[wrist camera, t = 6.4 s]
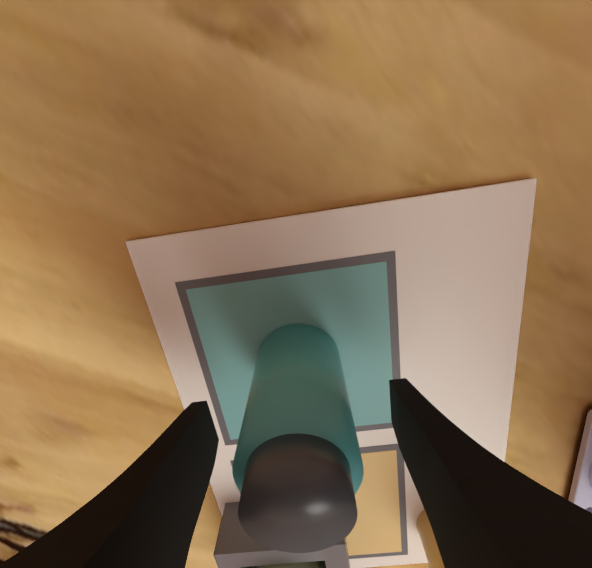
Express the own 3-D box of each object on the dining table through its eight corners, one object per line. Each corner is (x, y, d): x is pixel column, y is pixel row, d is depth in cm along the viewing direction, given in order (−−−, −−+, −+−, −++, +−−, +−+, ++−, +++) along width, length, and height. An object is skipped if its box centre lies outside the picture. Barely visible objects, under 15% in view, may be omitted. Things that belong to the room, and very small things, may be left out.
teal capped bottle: (335, 319, 14) (369, 454, 7) (342, 388, 15) (375, 557, 9) (251, 328, 14) (207, 467, 8) (265, 396, 16) (238, 566, 9)
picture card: (531, 178, 12) (538, 178, 12) (491, 552, 20) (494, 558, 20) (128, 240, 13) (124, 242, 13) (243, 571, 21) (243, 577, 21)
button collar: (338, 487, 18) (345, 544, 16) (349, 558, 21) (356, 619, 18) (226, 497, 19) (213, 555, 16) (249, 566, 21) (241, 626, 18)
